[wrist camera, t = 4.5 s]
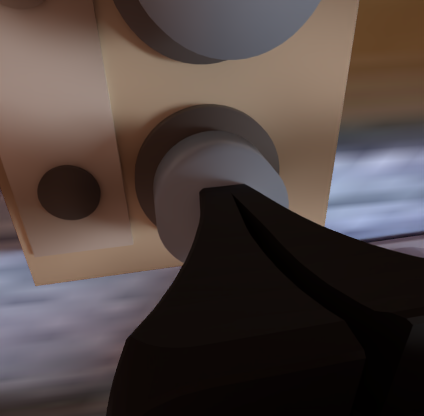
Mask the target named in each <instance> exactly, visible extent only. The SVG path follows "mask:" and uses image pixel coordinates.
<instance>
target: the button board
mask: <svg viewBox="0 0 424 416" xmlns="http://www.w3.org/2000/svg"><path fill="white" fill-rule="evenodd" d="M358 5H359V0H321V1H320V3H319V4H318V6H317V7H316V9H315V11H314V12H313V14H312V15H311V16H310V17H309V19H308V20H307V21H306V22H305V24H304V25H303V26H302V27H301V28H300V29H299V30H298V31H297V32H296V33H295V34H294V35H293V36H291V37H290V38H289V39H288V40H286V41H285V42H284V43H282V44H281V45H279V46H277V47H276V48H274V49H272V50H270V51H268V52H266V53H263V54H261V55H258V56H254V57H251V58H247V59H239V60H221V59H215V58H209V57H206V56H203V55H200V54H197V53H195V52H193V51H191V50H189V49H186V48H185V47H183V46H182V45H180V44H179V43H177V42H176V41H174V40H173V39H172V38H171V37H169V36H168V35H167V34H166V33H165V32H164V31H163V30H162V29H161V28H160V27H159V26H158V25H157V24H156V23H155V22H154V21H153V20H152V19H151V18H150V17H149V15H148V14H147V12H146V11H145V10H144V8H143V7H142V5H141V3H140V2H139V0H0V188H1V191H2V194H3V196H4V199H5V202H6V205H7V208H8V210H9V213H10V216H11V219H12V222H13V224H14V227H15V230H16V233H17V235H18V238H19V241H20V244H21V247H22V249H23V252H24V255H25V258H26V260H27V263H28V266H29V269H30V272H31V274H32V277H33V280H34V283H35V286H39V285H46V284H54V283H61V282H68V281H75V280H82V279H90V278H97V277H104V276H111V275H119V274H126V273H133V272H140V271H147V270H155V269H162V268H169V267H176V266H183V264H184V263H183V262H181V261H179V260H178V259H176V258H175V257H174V256H173V255H172V254H171V253H170V252H169V251H168V250H167V249H166V248H165V246H164V245H163V243H162V241H161V239H160V236H159V234H158V230H157V225H156V214H155V204H154V194H153V183H154V177H155V173H156V170H157V168H158V165H159V164H160V162H161V160H162V158H163V157H164V156H165V155H166V153H167V152H168V151H169V150H170V149H171V148H172V147H173V146H174V145H176V144H177V143H178V142H180V141H181V140H183V139H185V138H187V137H189V136H191V135H194V134H197V133H200V132H205V131H226V132H230V133H234V134H237V135H239V136H241V137H243V138H245V139H246V140H248V141H249V142H250V143H252V144H253V145H254V146H255V147H256V148H257V149H258V150H259V152H260V153H261V154H262V155H263V156H264V158H265V159H266V160H267V161H268V162H269V164H270V165H271V166H272V167H273V168H274V170H275V171H276V172H277V173H278V174H279V176H280V177H281V179H282V180H283V183H284V185H285V187H286V190H287V193H288V200H289V210H291V211H293V212H295V213H297V214H298V215H300V216H302V217H305V218H307V219H309V220H311V221H313V222H315V223H317V224H319V225H321V226H324V225H325V219H326V212H327V206H328V199H329V193H330V186H331V180H332V173H333V167H334V160H335V154H336V148H337V141H338V135H339V128H340V122H341V115H342V109H343V102H344V96H345V89H346V83H347V76H348V70H349V64H350V57H351V51H352V44H353V38H354V31H355V25H356V18H357V12H358Z"/></svg>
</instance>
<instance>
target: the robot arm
mask: <svg viewBox="0 0 424 416" xmlns="http://www.w3.org/2000/svg"><path fill="white" fill-rule="evenodd" d="M199 200H200V220H199V225H198V228H197V231H196V235H195V238H194V241H193V244H192V246H191V249H190V251H189V253H188V256H187V258H186V260H185V262H184V264H183V266H182V268H181V269H180V271H179V273H178V275H177V277H176V278H175V280H174V282H173V283H172V285H171V286H170V288H169V289H168V290H167V292H166V293H165V294H164V296H163V297H162V299H161V300H160V301H159V303H158V304H157V306H156V307H155V308H154V309H153V311H152V312H151V313H150V314H149V315H148V316H147V317H146V318H145V320H144V321H143V322H142V323H141V324H140V325H139V326H138V327H137V328H136V329H135V331H134V332H133V333H132V334H131V335H130V336H129V337H128V338H127V339H126V342H125V345H124V348H123V351H122V354H121V357H120V360H119V363H118V366H117V369H116V373H115V376H114V379H113V383H112V387H111V392H110V396H109V402H108V407H107V413H106V416H424V235H419V236H412V237H405V238H397V239H390V240H383V241H376V242H369V243H366V242H363V241H360V240H357V239H354V238H351V237H349V236H346V235H343V234H341V233H338V232H336V231H333V230H331V229H328V228H326V227H324V226H321V225H319V224H317V223H315V222H313V221H311V220H309V219H307V218H305V217H302V216H300V215H298V214H297V213H295V212H293V211H291V210H289V209H287V208H286V207H284V206H282V205H280V204H279V203H277V202H275V201H273V200H272V199H270V198H268V197H267V196H265V195H263V194H262V193H260V192H258V191H257V190H255V189H253V188H251V187H250V186H248V185H246V184H237V185H228V186H219V187H210V188H203V189H202V190H201V191H200V192H199Z"/></svg>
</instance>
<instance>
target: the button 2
mask: <svg viewBox="0 0 424 416" xmlns="http://www.w3.org/2000/svg"><path fill="white" fill-rule="evenodd" d="M237 184H246V185H248V186H250V187H251V188H253V189H255V190H257V191H258V192H260V193H262V194H263V195H265V196H267V197H268V198H270V199H272V200H273V201H275V202H277V203H279V204H280V205H282V206H284V207H286V208H287V209H289V200H288V193H287V190H286V187H285V185H284V183H283V180H282V179H281V177H280V176H279V174H278V173H277V172H276V171H275V170H274V168H273V167H272V166H271V165H270V164H269V162H268V161H267V160H266V159H265V158H264V156H263V155H262V154H261V153H260V152H259V150H258V149H257V148H256V147H255V146H254V145H253V144H252V143H250V142H249V141H248V140H246V139H245V138H243V137H241V136H239V135H237V134H234V133H230V132H226V131H205V132H200V133H197V134H194V135H191V136H189V137H187V138H185V139H183V140H181V141H180V142H178V143H177V144H176V145H174V146H173V147H172V148H171V149H170V150H169V151H168V152H167V153H166V155H165V156H164V157H163V158H162V160H161V162H160V164H159V165H158V168H157V170H156V173H155V177H154V183H153V194H154V204H155V214H156V225H157V230H158V234H159V236H160V239H161V241H162V243H163V245H164V246H165V248H166V249H167V250H168V251H169V252H170V253H171V254H172V255H173V256H174V257H175V258H176V259H178V260H179V261H181V262H183V263H184V262H185V260H186V258H187V256H188V253H189V251H190V249H191V246H192V244H193V241H194V238H195V235H196V231H197V228H198V225H199V220H200V200H199V192H200V191H201V190H202V189H203V188H210V187H219V186H228V185H237Z"/></svg>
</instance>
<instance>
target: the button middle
mask: <svg viewBox="0 0 424 416" xmlns="http://www.w3.org/2000/svg"><path fill="white" fill-rule="evenodd" d="M320 1H321V0H139V2H140V3H141V5H142V7H143V8H144V10H145V11H146V12H147V14H148V15H149V17H150V18H151V19H152V20H153V21H154V22H155V23H156V24H157V25H158V26H159V27H160V28H161V29H162V30H163V31H164V32H165V33H166V34H167V35H168V36H169V37H171V38H172V39H173V40H174V41H176V42H177V43H179V44H180V45H182V46H183V47H185V48H186V49H189V50H191V51H193V52H195V53H197V54H200V55H203V56H206V57H209V58H215V59H221V60H239V59H247V58H251V57H254V56H258V55H261V54H263V53H266V52H268V51H270V50H272V49H274V48H276V47H277V46H279V45H281V44H282V43H284V42H285V41H286V40H288V39H289V38H290V37H291V36H293V35H294V34H295V33H296V32H297V31H298V30H299V29H300V28H301V27H302V26H303V25H304V24H305V22H306V21H307V20H308V19H309V17H310V16H311V15H312V14H313V12H314V11H315V9H316V7H317V6H318V4H319V3H320Z"/></svg>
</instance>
